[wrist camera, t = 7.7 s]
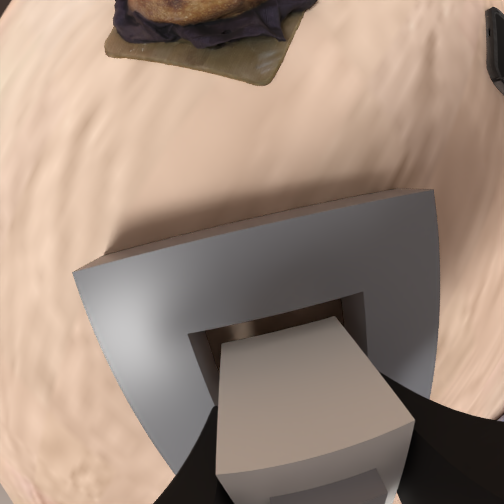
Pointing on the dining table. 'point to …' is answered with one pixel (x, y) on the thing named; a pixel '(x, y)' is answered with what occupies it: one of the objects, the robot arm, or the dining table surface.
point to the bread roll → (208, 34)
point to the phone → (495, 46)
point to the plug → (308, 420)
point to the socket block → (265, 299)
